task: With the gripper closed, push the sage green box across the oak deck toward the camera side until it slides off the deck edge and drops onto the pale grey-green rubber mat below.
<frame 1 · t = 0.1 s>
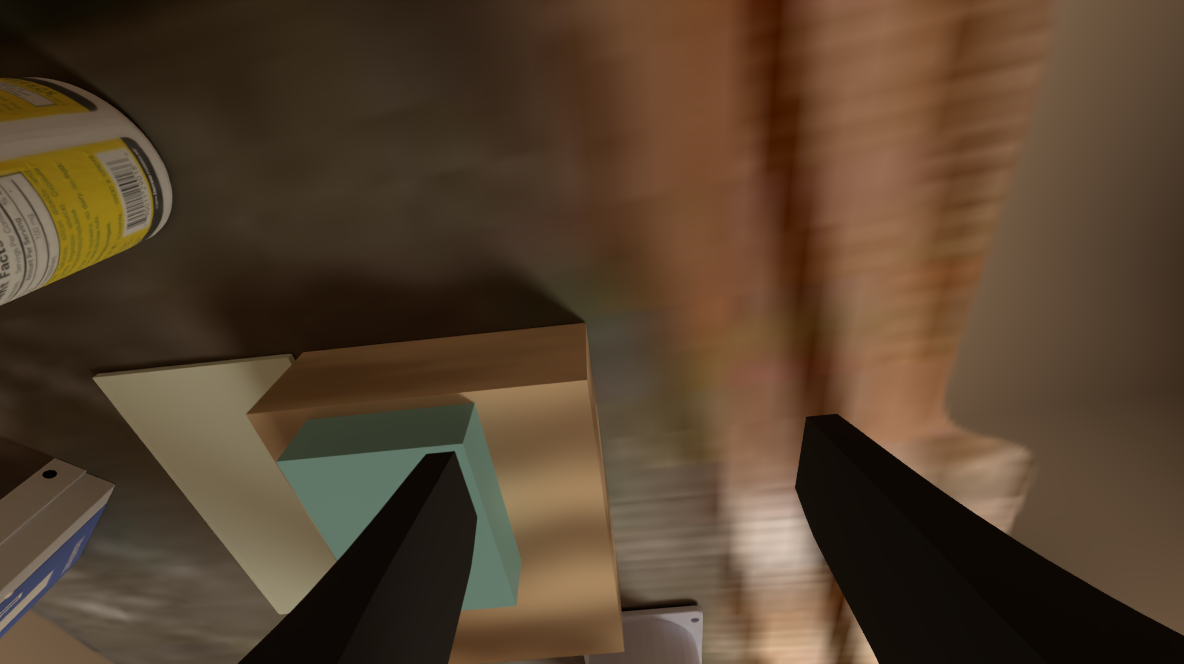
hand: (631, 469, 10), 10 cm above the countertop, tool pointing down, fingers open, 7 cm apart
deck: (489, 486, 24), on the countertop
walkman: (70, 508, 25), on the countertop
supplement bottle: (97, 165, 16), on the countertop
sage green box: (426, 498, 19), point 4 cm above the countertop, touching deck
mat: (285, 505, 25), on the countertop
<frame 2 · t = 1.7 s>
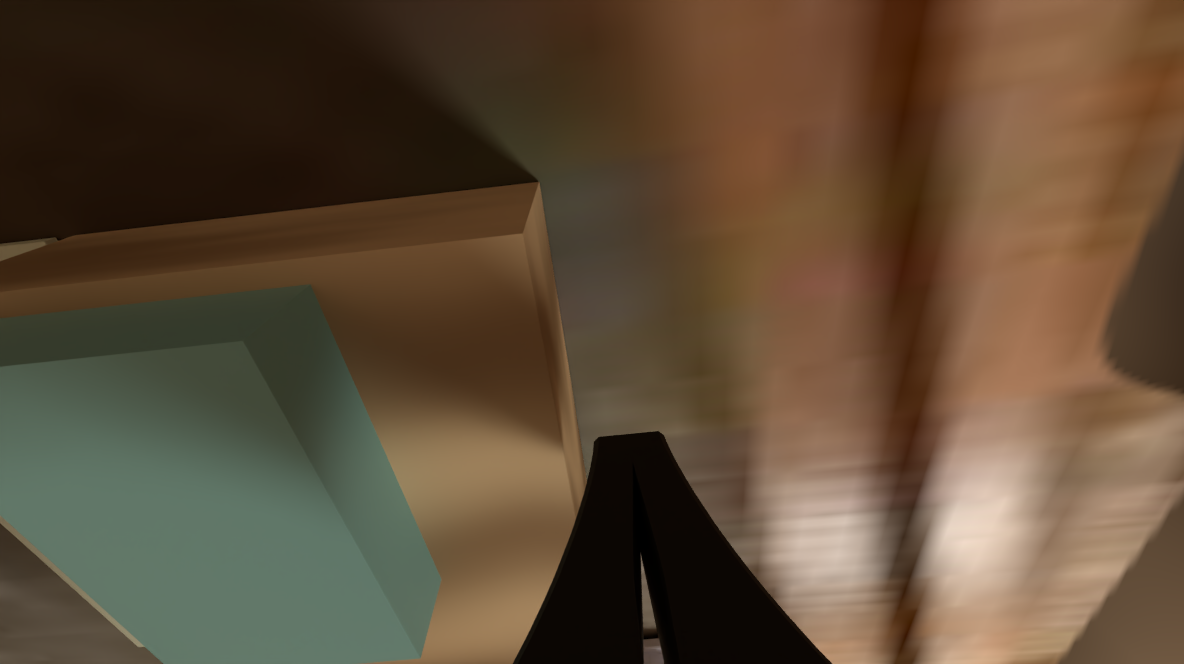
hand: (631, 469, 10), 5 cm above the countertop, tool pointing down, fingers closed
deck: (409, 465, 16), on the countertop
sage green box: (262, 474, 11), point 4 cm above the countertop, touching deck
mat: (111, 494, 17), on the countertop
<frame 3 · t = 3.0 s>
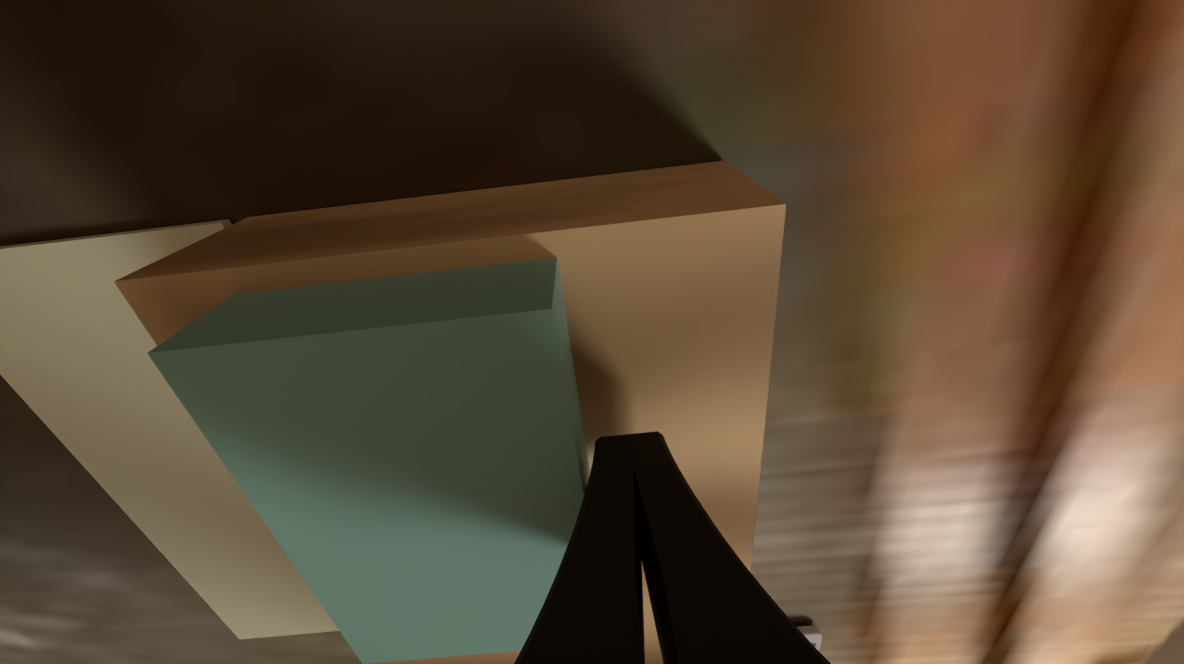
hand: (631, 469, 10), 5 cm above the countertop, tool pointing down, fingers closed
deck: (541, 453, 16), on the countertop
sage green box: (455, 456, 11), point 4 cm above the countertop, touching gripper
mat: (238, 483, 17), on the countertop
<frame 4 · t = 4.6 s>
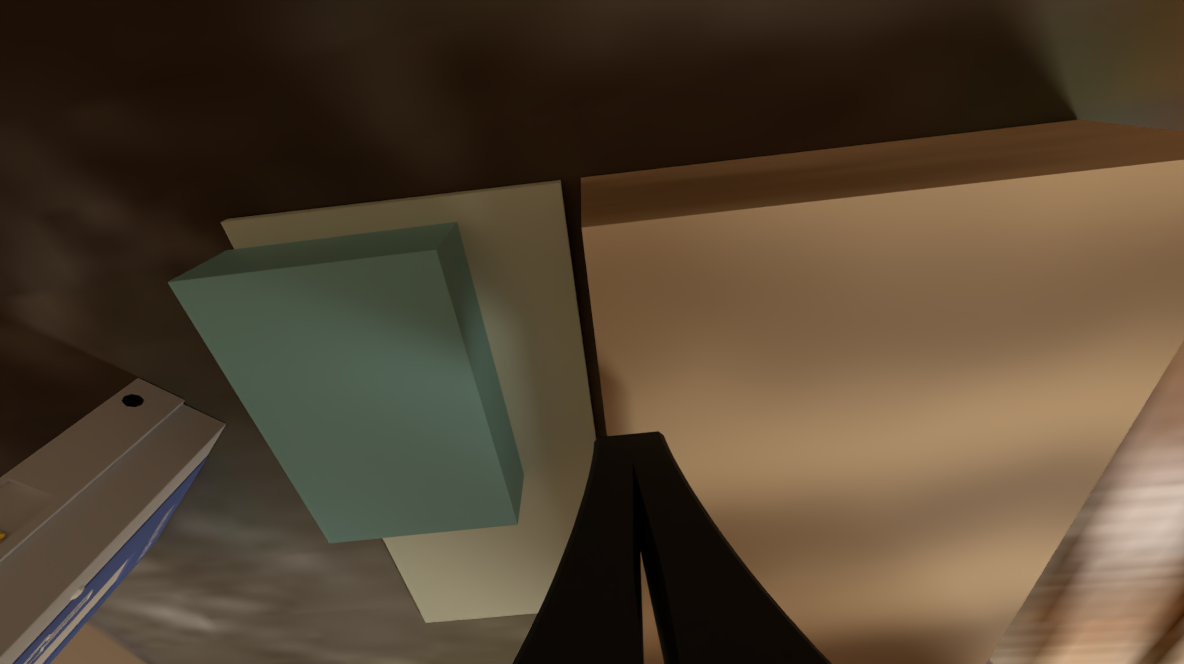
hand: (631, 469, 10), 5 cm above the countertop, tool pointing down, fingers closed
deck: (788, 429, 16), on the countertop
walkman: (150, 465, 16), on the countertop
sage green box: (372, 424, 12), point 2 cm above the countertop, tilted 180°, touching mat
mat: (475, 459, 16), on the countertop
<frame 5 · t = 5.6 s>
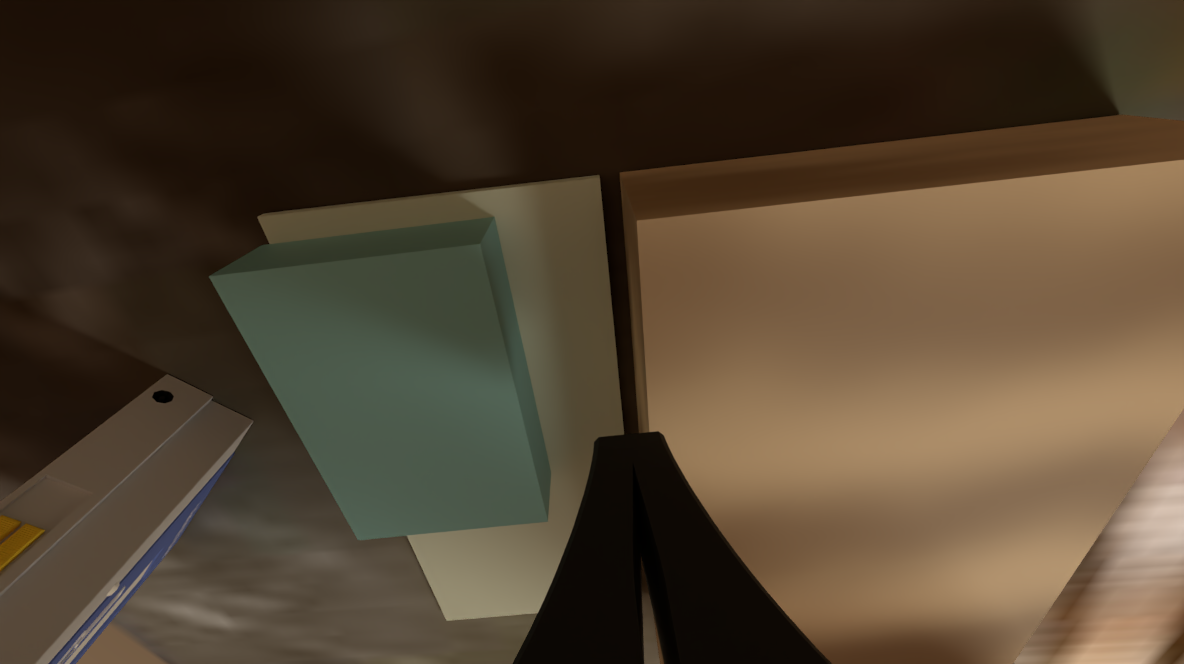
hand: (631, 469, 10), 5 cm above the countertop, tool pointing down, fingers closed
deck: (817, 426, 16), on the countertop
walkman: (176, 461, 16), on the countertop
sage green box: (407, 420, 12), point 2 cm above the countertop, tilted 180°, touching mat
mat: (502, 456, 16), on the countertop
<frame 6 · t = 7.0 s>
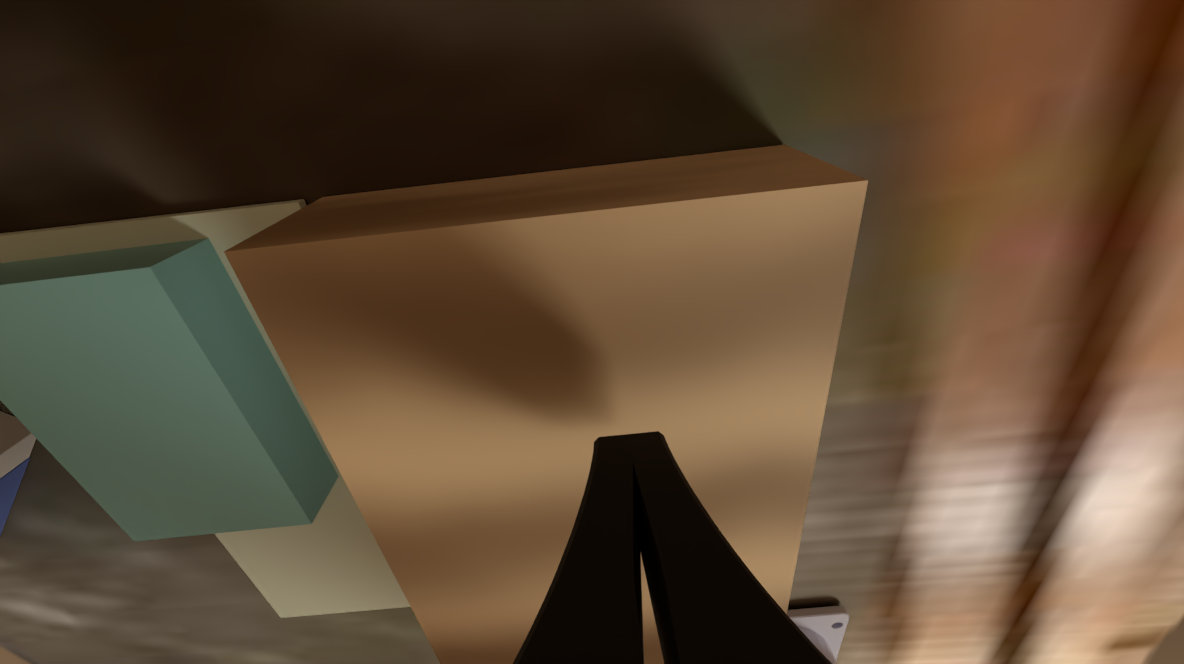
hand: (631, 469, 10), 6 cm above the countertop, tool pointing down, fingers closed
deck: (587, 432, 17), on the countertop
sage green box: (140, 429, 13), point 2 cm above the countertop, tilted 180°, touching mat
mat: (291, 461, 17), on the countertop
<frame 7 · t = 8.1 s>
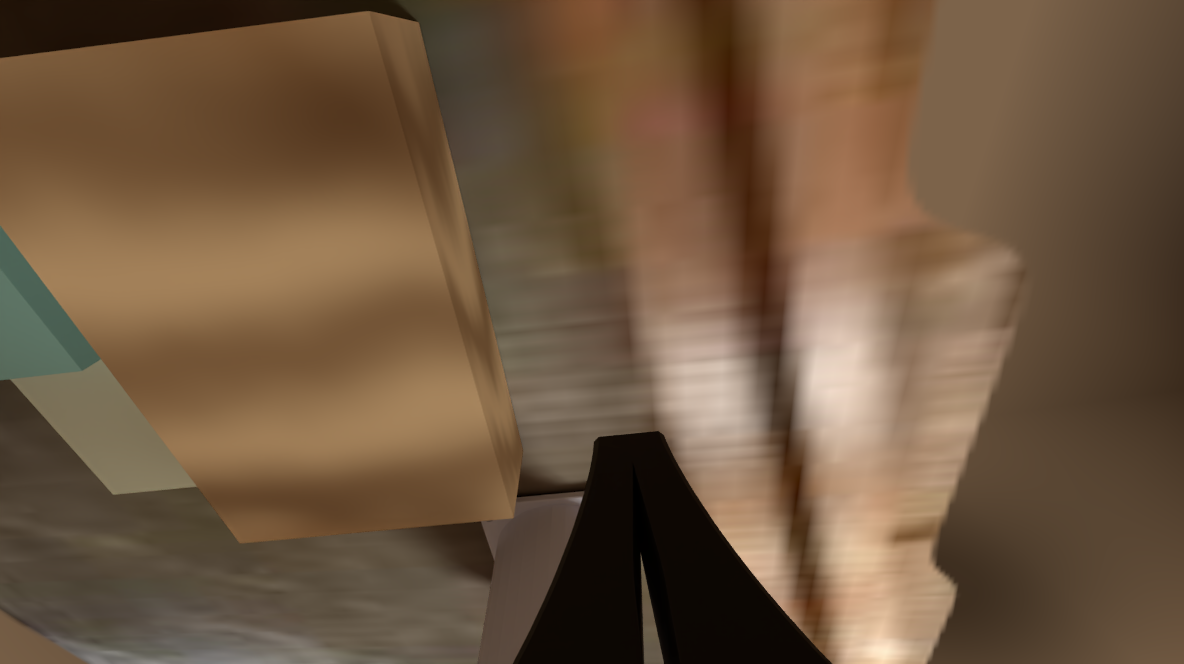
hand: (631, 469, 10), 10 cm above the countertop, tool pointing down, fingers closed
deck: (338, 302, 19), on the countertop
mat: (84, 330, 20), on the countertop
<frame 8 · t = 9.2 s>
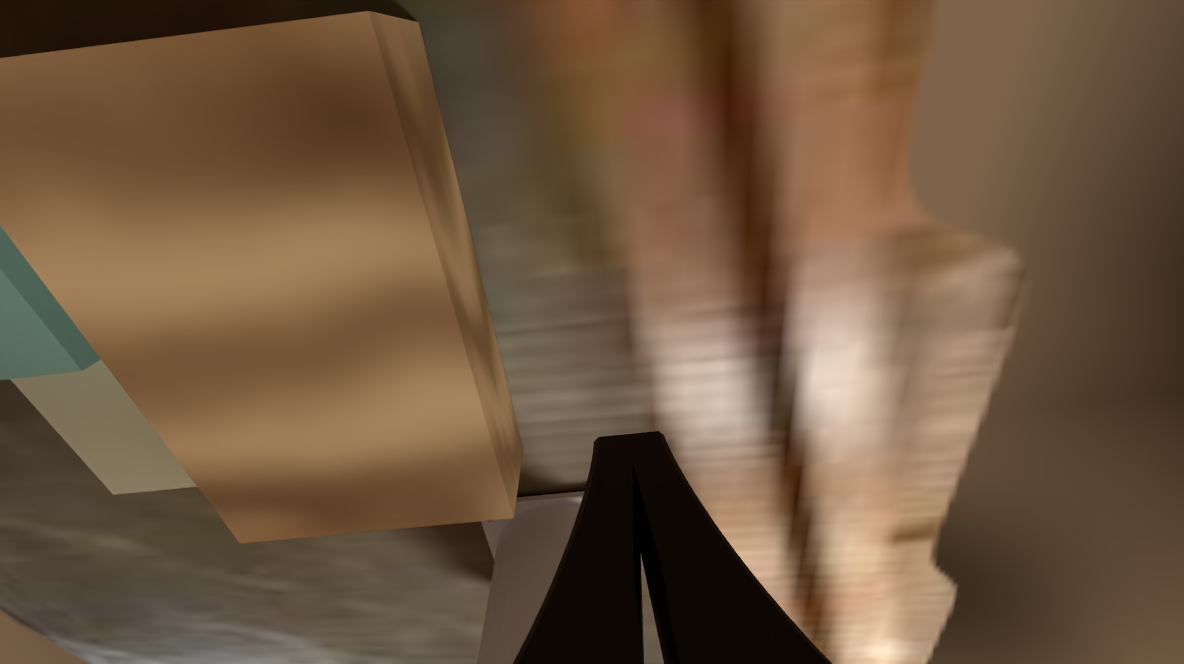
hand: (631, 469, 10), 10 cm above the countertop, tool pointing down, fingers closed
deck: (338, 302, 19), on the countertop
mat: (84, 330, 20), on the countertop
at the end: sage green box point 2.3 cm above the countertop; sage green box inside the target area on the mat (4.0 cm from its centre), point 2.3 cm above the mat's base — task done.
